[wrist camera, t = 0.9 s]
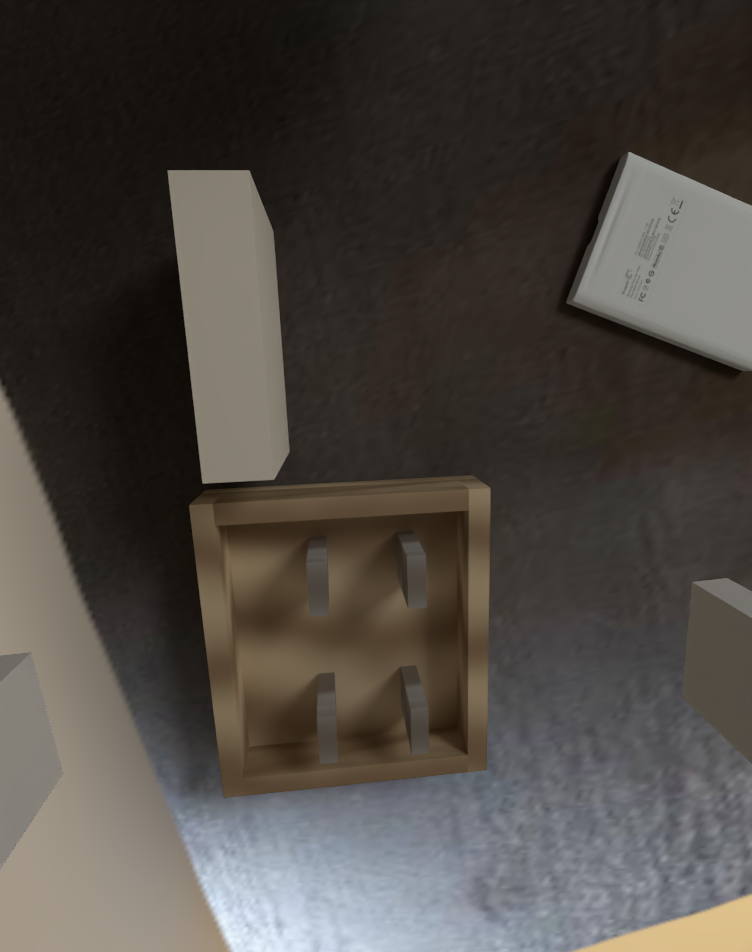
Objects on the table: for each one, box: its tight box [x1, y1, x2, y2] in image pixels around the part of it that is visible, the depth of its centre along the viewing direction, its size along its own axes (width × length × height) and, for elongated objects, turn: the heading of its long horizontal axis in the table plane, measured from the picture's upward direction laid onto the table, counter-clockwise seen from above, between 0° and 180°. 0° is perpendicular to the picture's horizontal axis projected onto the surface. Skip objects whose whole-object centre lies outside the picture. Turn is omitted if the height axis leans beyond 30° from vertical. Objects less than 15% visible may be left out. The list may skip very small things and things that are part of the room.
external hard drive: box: [566, 152, 752, 371], centre depth 28 cm, size 2×8×12 cm
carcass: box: [189, 475, 490, 798], centre depth 28 cm, size 18×16×5 cm
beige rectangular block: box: [168, 170, 289, 483], centre depth 23 cm, size 12×3×8 cm, turn 2°
